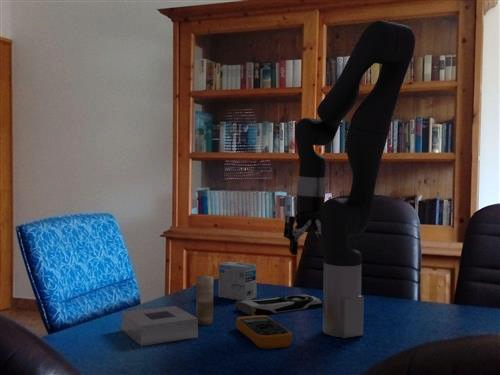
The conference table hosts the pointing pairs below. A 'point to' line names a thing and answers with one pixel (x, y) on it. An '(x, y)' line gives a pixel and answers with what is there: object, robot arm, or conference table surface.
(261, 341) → the multimeter
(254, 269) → the light bulb box
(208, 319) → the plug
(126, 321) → the grey square socket block
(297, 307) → the graphics card
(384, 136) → the robot arm
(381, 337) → the conference table surface
